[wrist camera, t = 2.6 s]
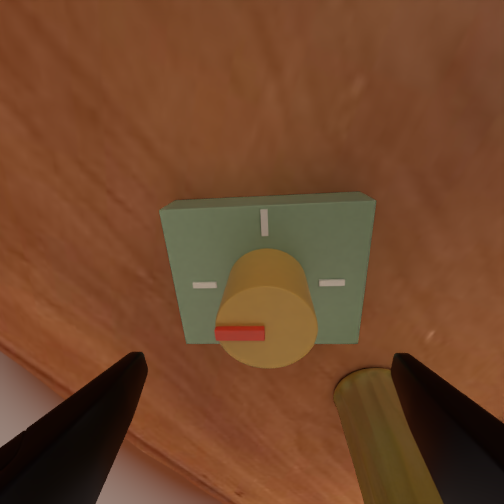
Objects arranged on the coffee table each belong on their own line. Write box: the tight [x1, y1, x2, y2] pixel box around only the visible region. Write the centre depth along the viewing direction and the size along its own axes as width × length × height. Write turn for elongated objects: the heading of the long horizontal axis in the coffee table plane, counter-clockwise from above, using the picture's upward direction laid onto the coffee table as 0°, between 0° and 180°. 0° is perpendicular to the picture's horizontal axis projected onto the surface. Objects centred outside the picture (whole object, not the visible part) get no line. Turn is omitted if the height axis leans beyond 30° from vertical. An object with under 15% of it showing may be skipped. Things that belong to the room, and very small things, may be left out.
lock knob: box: [214, 248, 318, 368], centre depth 13 cm, size 4×4×4 cm
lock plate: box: [159, 191, 376, 344], centre depth 16 cm, size 11×9×3 cm
